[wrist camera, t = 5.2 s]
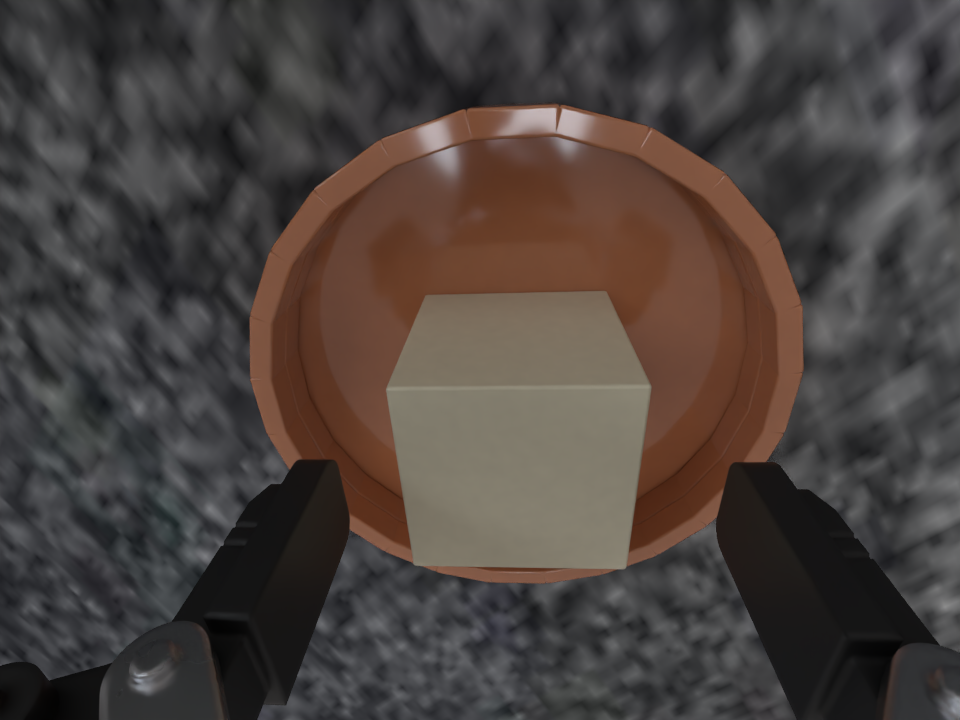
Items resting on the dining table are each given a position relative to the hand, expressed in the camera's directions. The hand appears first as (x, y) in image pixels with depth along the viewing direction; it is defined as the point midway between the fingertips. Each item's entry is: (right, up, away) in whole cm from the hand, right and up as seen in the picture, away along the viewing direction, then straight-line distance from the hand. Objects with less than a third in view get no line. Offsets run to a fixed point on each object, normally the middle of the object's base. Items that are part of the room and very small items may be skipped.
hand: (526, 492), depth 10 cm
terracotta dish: (0, +3, +5) cm, 6 cm away
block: (0, +2, +5) cm, 5 cm away
